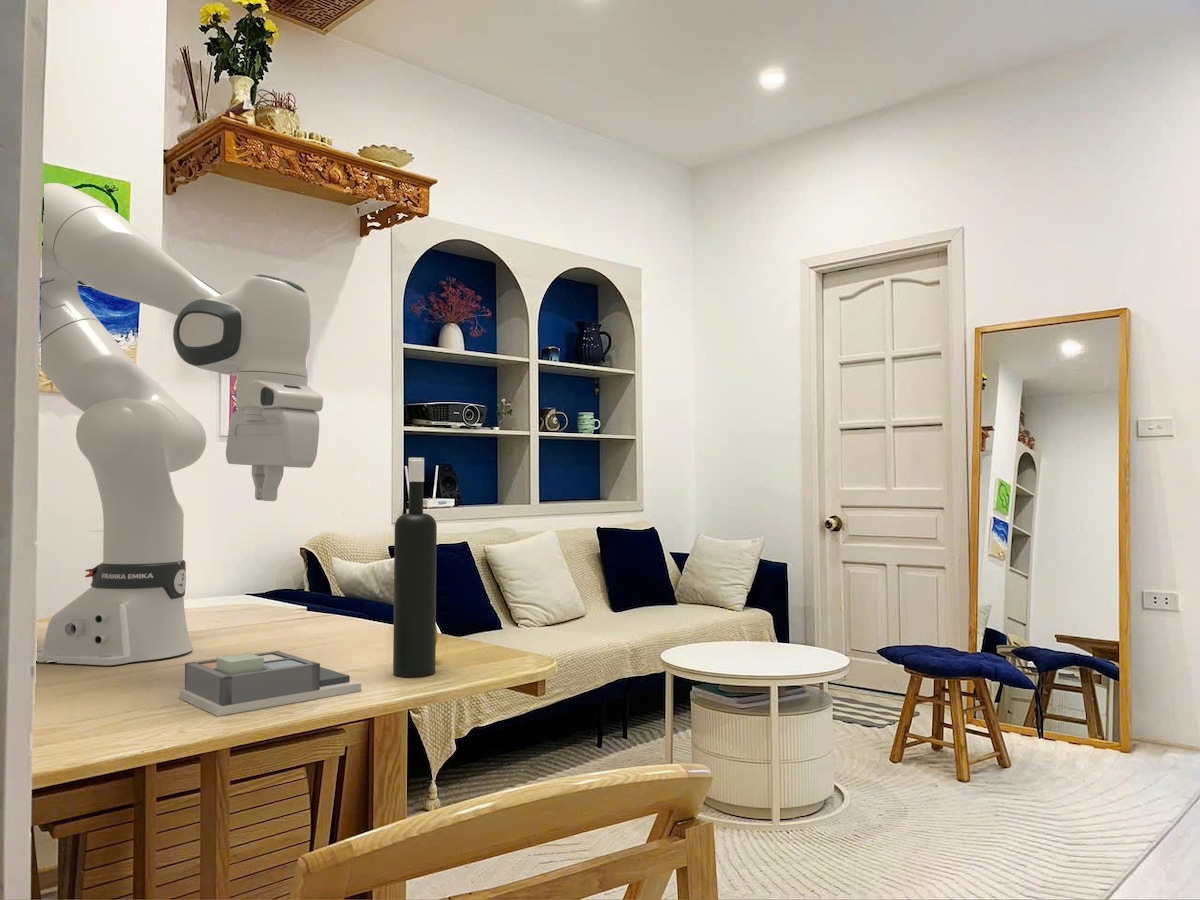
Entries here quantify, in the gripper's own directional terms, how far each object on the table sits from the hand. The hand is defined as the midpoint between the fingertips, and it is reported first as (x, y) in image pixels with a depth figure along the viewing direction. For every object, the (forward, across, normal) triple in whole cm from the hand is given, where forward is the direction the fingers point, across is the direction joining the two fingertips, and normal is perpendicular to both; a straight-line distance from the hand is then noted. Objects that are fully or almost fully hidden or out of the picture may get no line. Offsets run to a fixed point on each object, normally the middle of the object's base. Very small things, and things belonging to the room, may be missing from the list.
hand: (265, 500), depth 120 cm
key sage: (+21, +11, -7) cm, 24 cm away
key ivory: (+22, +6, -1) cm, 23 cm away
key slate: (+22, +11, -1) cm, 24 cm away
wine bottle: (+23, +10, +18) cm, 31 cm away
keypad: (+24, +8, -2) cm, 25 cm away
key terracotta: (+22, +6, -7) cm, 24 cm away
